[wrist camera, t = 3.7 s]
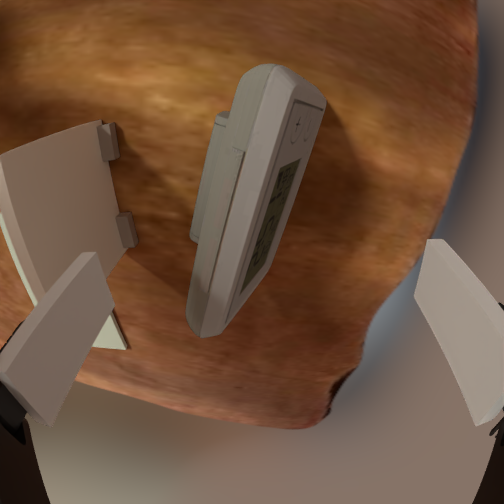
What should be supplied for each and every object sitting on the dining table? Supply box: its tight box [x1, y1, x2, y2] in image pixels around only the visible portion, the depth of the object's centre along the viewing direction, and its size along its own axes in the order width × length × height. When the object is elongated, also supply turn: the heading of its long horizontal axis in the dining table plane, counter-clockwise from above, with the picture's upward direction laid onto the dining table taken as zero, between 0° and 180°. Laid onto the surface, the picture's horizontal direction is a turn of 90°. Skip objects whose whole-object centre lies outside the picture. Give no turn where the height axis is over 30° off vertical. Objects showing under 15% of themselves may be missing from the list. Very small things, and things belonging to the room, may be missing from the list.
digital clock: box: [185, 64, 327, 338], centre depth 19 cm, size 16×9×11 cm, turn 153°
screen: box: [0, 120, 139, 303], centre depth 19 cm, size 12×4×12 cm, turn 4°
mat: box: [0, 212, 127, 350], centre depth 30 cm, size 19×12×1 cm, turn 4°
